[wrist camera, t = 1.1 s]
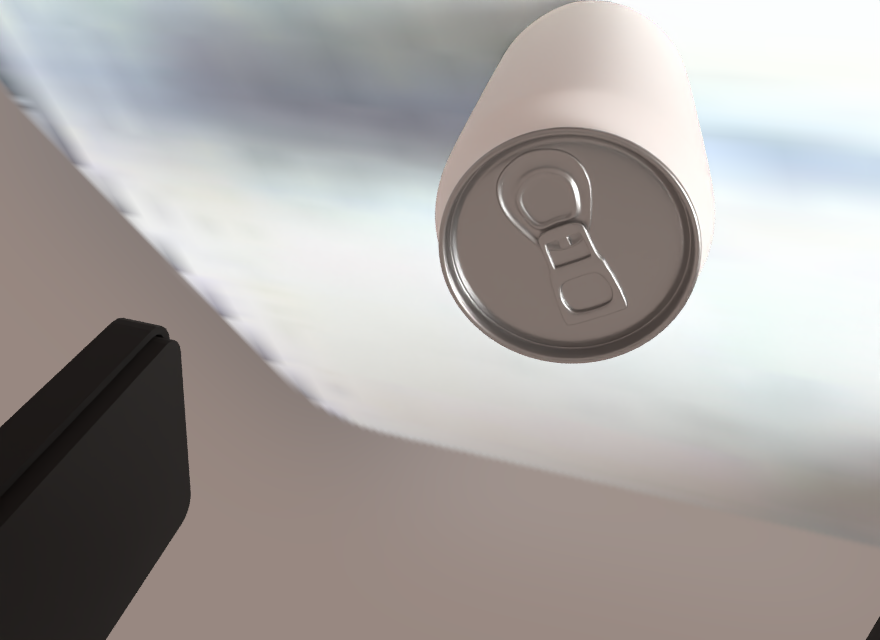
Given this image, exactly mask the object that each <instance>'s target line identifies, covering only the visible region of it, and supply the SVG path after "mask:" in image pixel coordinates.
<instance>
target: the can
mask: <svg viewBox="0 0 880 640" xmlns="http://www.w3.org/2000/svg"><path fill="white" fill-rule="evenodd" d="M435 222H436V232H437V238H438V242H439V257H440V263H441V268H442V272H443V275H444V278H445V281H446V284H447V286H448V289H449V291H450V293H451V295H452V296H453V298H454V300H455V302H456V303H457V305H458V306H459V308H460V309H461V310H462V312H463V313H464V314H465V315H466V317H467V318H468V319H469V320H470V321H471V322H472V323H473V324H474V325H475V326H476V327H477V328H478V329H479V330H481V331H482V332H483V333H484V334H485V335H487V336H488V337H490V338H491V339H492V340H494V341H495V342H497V343H499V344H500V345H502V346H504V347H506V348H508V349H510V350H512V351H514V352H517V353H519V354H522V355H525V356H528V357H531V358H534V359H539V360H543V361H549V362H556V363H589V362H596V361H601V360H606V359H610V358H613V357H616V356H619V355H622V354H625V353H627V352H630V351H632V350H634V349H636V348H638V347H640V346H642V345H643V344H645V343H647V342H648V341H650V340H651V339H653V338H654V337H655V336H657V335H658V334H659V333H660V332H662V331H663V330H664V329H665V328H666V327H667V326H668V325H669V324H670V323H671V322H672V321H673V320H674V319H675V318H676V316H677V315H678V314H679V313H680V311H681V310H682V308H683V307H684V305H685V304H686V302H687V300H688V299H689V297H690V295H691V293H692V291H693V288H694V286H695V283H696V280H697V277H698V276H699V274H700V272H701V270H702V268H703V266H704V264H705V262H706V259H707V257H708V254H709V251H710V247H711V243H712V239H713V233H714V223H715V200H714V192H713V185H712V180H711V175H710V170H709V165H708V160H707V155H706V151H705V146H704V142H703V137H702V133H701V129H700V124H699V120H698V116H697V111H696V107H695V103H694V99H693V95H692V90H691V86H690V82H689V79H688V75H687V71H686V68H685V65H684V62H683V60H682V57H681V55H680V53H679V51H678V49H677V48H676V46H675V44H674V43H673V41H672V40H671V39H670V37H669V36H668V35H667V34H666V32H665V31H664V30H663V29H662V28H661V27H660V26H659V25H658V24H656V23H655V22H654V21H653V20H651V19H650V18H649V17H647V16H646V15H644V14H642V13H640V12H638V11H636V10H634V9H632V8H630V7H627V6H624V5H621V4H617V3H612V2H605V1H578V2H573V3H569V4H566V5H563V6H561V7H558V8H556V9H554V10H552V11H550V12H548V13H546V14H545V15H543V16H542V17H540V18H539V19H537V20H536V21H534V22H533V23H532V24H530V25H529V26H528V27H527V28H526V29H524V30H523V31H522V32H521V33H520V34H519V35H518V36H517V37H516V38H515V40H514V41H513V42H512V43H511V45H510V46H509V48H508V49H507V51H506V52H505V54H504V56H503V57H502V59H501V61H500V62H499V64H498V66H497V68H496V69H495V71H494V73H493V75H492V77H491V78H490V80H489V82H488V84H487V86H486V87H485V89H484V91H483V93H482V95H481V97H480V98H479V100H478V102H477V104H476V106H475V108H474V110H473V111H472V113H471V115H470V117H469V119H468V121H467V123H466V125H465V126H464V128H463V130H462V132H461V134H460V136H459V138H458V140H457V142H456V144H455V146H454V148H453V150H452V152H451V154H450V156H449V158H448V161H447V163H446V165H445V168H444V170H443V173H442V176H441V180H440V183H439V188H438V192H437V198H436V208H435Z"/></svg>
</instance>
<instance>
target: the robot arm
mask: <svg viewBox="0 0 880 640" xmlns="http://www.w3.org/2000/svg"><path fill="white" fill-rule="evenodd" d="M190 496H191V492H190V477H189V464H188V449H187V435H186V422H185V408H184V393H183V378H182V364H181V351H180V346H179V344H178V342H177V341H175V340H170V339H169V334H168V332H167V330H166V329H165V328H164V327H162V326H159V325H154V324H149V323H144V322H140V321H135V320H130V319H125V318H118V319H116V320H115V321H113V322H112V323H111V324H110V325H109V326H107V328H105V329H104V330H103V331H102V332H101V333H100V334H99V335H98V336H97V337H96V338H95V339H94V340H93V341H92V342H91V343H89V344H88V345H87V346H86V347H85V348H84V349H83V350H82V351H81V352H80V353H79V354H78V355H77V356H76V357H75V358H73V359H72V361H71V362H69V363H68V364H67V365H66V366H65V367H64V368H63V369H62V370H61V371H60V372H59V373H57V374H56V375H55V376H54V377H53V378H52V379H51V380H50V381H49V382H48V383H47V384H46V385H45V386H44V387H43V388H42V389H40V390H39V391H38V392H37V393H36V394H35V395H34V396H33V397H32V398H31V399H30V400H29V401H28V402H27V403H26V404H24V405H23V406H22V407H21V408H20V409H19V410H18V411H17V412H16V413H15V414H14V415H13V416H12V417H11V418H10V419H9V420H8V421H6V422H5V423H4V424H3V425H2V426H1V427H0V640H106V638H107V637H108V635H109V634H110V632H111V631H112V629H113V628H114V626H115V625H116V623H117V622H118V620H119V619H120V617H121V616H122V614H123V613H124V611H125V609H126V608H127V606H128V605H129V603H130V602H131V600H132V599H133V597H134V596H135V594H136V593H137V591H138V590H139V588H140V587H141V585H142V583H143V582H144V580H145V579H146V577H147V576H148V574H149V573H150V571H151V570H152V568H153V567H154V565H155V563H156V562H157V561H158V559H159V557H160V556H161V555H162V553H163V551H164V550H165V548H166V547H167V545H168V544H169V542H170V541H171V539H172V538H173V536H174V535H175V533H176V532H177V530H178V529H179V527H180V526H181V524H182V522H183V520H184V519H185V516H186V514H187V511H188V508H189V504H190ZM866 640H880V617H879V619H878V620H877V622H876V624H875V625H874V627H873V629H872V630H871V632H870V634H869V636H868V637H867V639H866Z"/></svg>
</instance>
